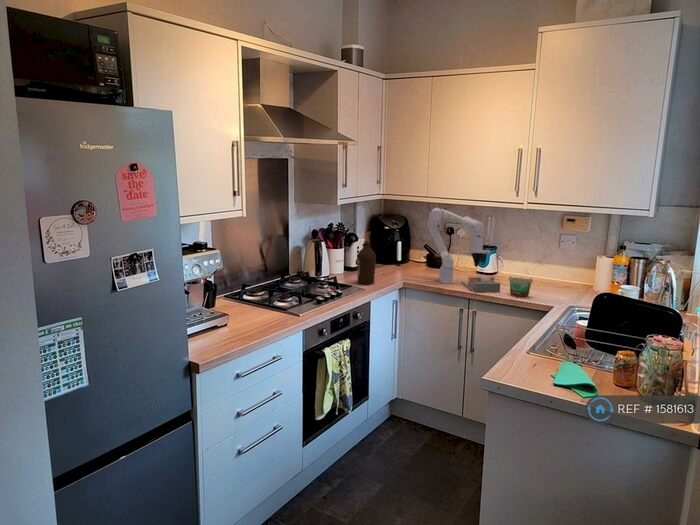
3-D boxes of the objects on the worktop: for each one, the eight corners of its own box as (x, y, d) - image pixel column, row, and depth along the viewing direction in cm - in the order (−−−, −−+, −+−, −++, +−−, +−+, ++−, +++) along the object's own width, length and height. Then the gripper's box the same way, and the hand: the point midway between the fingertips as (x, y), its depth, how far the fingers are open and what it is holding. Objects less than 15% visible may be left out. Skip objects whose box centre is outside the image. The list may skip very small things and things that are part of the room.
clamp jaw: (468, 286, 289) (468, 276, 288) (491, 286, 291) (492, 276, 290) (469, 288, 286) (470, 277, 285) (493, 287, 288) (494, 277, 286)
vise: (461, 283, 297) (461, 275, 296) (488, 283, 299) (489, 275, 298) (472, 292, 278) (473, 283, 277) (501, 292, 280) (502, 283, 279)
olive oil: (375, 281, 299) (376, 239, 294) (374, 285, 289) (375, 242, 283) (357, 280, 300) (358, 238, 295) (356, 285, 289) (356, 241, 284)
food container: (505, 295, 272) (506, 277, 270) (507, 293, 278) (509, 275, 276) (529, 299, 267) (531, 280, 265) (531, 296, 272) (532, 278, 270)
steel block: (477, 288, 287) (478, 276, 285) (486, 288, 287) (487, 276, 286) (480, 291, 282) (481, 278, 280) (489, 290, 282) (490, 278, 281)
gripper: (467, 244, 288) (466, 267, 291) (492, 244, 290) (490, 267, 293) (463, 242, 295) (462, 264, 298) (488, 242, 297) (486, 264, 300)
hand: (476, 266), depth 296 cm, fingers closed
